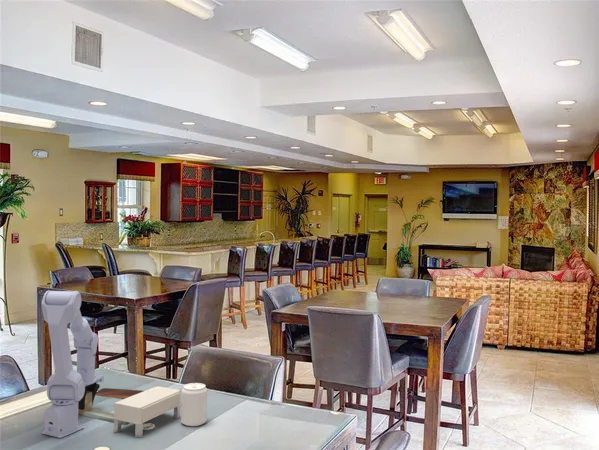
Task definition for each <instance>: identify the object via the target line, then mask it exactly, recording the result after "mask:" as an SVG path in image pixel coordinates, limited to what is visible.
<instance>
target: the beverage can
mask: <svg viewBox="0 0 599 450" xmlns="http://www.w3.org/2000/svg"><path fill="white" fill-rule="evenodd" d="M206 385H207V384H205V383H202V382H191V383H186V384H184V385H183V388H182V389H181V405H180V419H181V422H180V423H182V424H183V425H185V426H187V427H198V426H201V425H203V424H205V423H207V416H208V414H207V412H208V411H207V408H208V389H207V387H206Z"/></svg>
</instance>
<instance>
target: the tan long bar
mask: <svg viewBox="0 0 599 450" xmlns="http://www.w3.org/2000/svg"><path fill="white" fill-rule="evenodd" d="M78 415H82V416H83V417H87V418H92V419H97V420H101V421H106V422H110V423H113V424H114V412H109V411H105V410H102V409H101V410H100V409H96V408H93V405H92V392H89V391H87V394H86V397H85V407H84V409H83V410H81V409H78ZM129 424H131V423H130V422H125V421H121V426H126V425H129Z"/></svg>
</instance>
